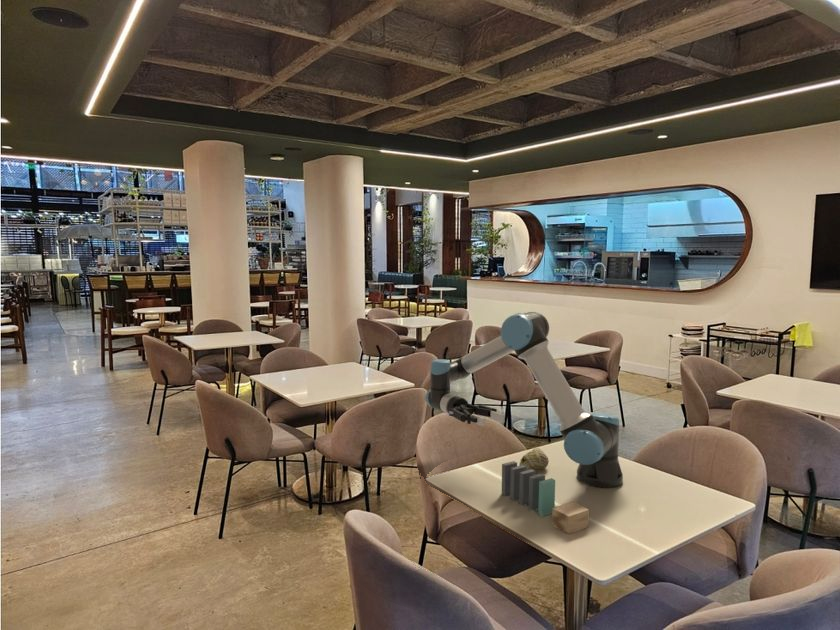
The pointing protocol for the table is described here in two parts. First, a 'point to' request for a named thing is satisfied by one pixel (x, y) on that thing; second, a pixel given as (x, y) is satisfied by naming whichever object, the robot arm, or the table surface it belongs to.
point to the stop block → (570, 517)
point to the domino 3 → (525, 486)
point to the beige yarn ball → (534, 460)
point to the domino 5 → (546, 497)
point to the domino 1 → (507, 476)
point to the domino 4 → (534, 491)
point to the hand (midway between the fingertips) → (494, 420)
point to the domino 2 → (515, 481)
